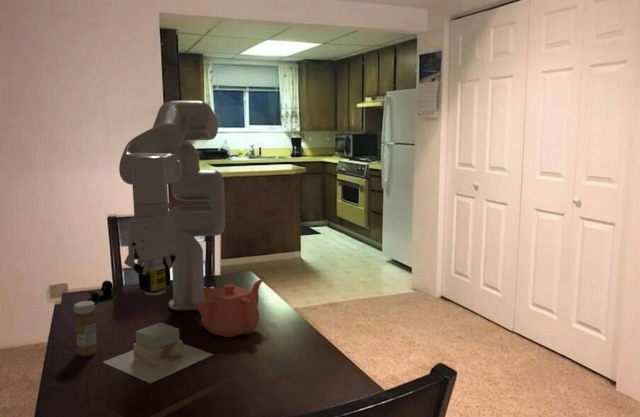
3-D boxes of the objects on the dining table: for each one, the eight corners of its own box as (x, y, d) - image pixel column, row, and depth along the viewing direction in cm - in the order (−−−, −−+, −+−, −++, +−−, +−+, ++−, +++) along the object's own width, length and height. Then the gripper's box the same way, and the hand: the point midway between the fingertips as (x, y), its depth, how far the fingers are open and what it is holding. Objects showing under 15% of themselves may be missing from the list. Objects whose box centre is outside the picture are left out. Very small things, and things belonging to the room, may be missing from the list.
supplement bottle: (159, 296, 120) (158, 260, 118) (140, 295, 121) (139, 259, 119) (169, 290, 124) (168, 255, 123) (151, 288, 125) (149, 254, 124)
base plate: (166, 341, 137) (165, 337, 137) (213, 358, 127) (213, 354, 127) (102, 366, 123) (102, 361, 123) (150, 387, 113) (150, 383, 112)
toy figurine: (78, 303, 169) (77, 285, 168) (100, 294, 179) (99, 277, 178) (103, 306, 166) (102, 288, 165) (124, 297, 175) (123, 280, 174)
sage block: (161, 334, 129) (160, 322, 129) (179, 340, 125) (179, 328, 125) (136, 343, 123) (135, 331, 123) (154, 350, 119) (154, 338, 119)
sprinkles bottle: (74, 356, 128) (70, 303, 126) (92, 350, 132) (88, 298, 130) (83, 361, 125) (79, 307, 123) (101, 355, 129) (98, 302, 127)
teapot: (204, 323, 150) (203, 277, 148) (263, 321, 152) (263, 275, 150) (197, 345, 135) (195, 295, 133) (263, 343, 136) (262, 293, 134)
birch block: (162, 348, 130) (161, 333, 130) (183, 356, 126) (182, 340, 125) (134, 359, 124) (133, 343, 123) (155, 368, 119) (154, 351, 119)
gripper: (171, 204, 129) (174, 276, 131) (107, 213, 115) (113, 293, 118) (191, 207, 124) (194, 281, 127) (128, 216, 111) (133, 299, 113)
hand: (155, 286), depth 122 cm, fingers closed on supplement bottle, 4 cm apart
